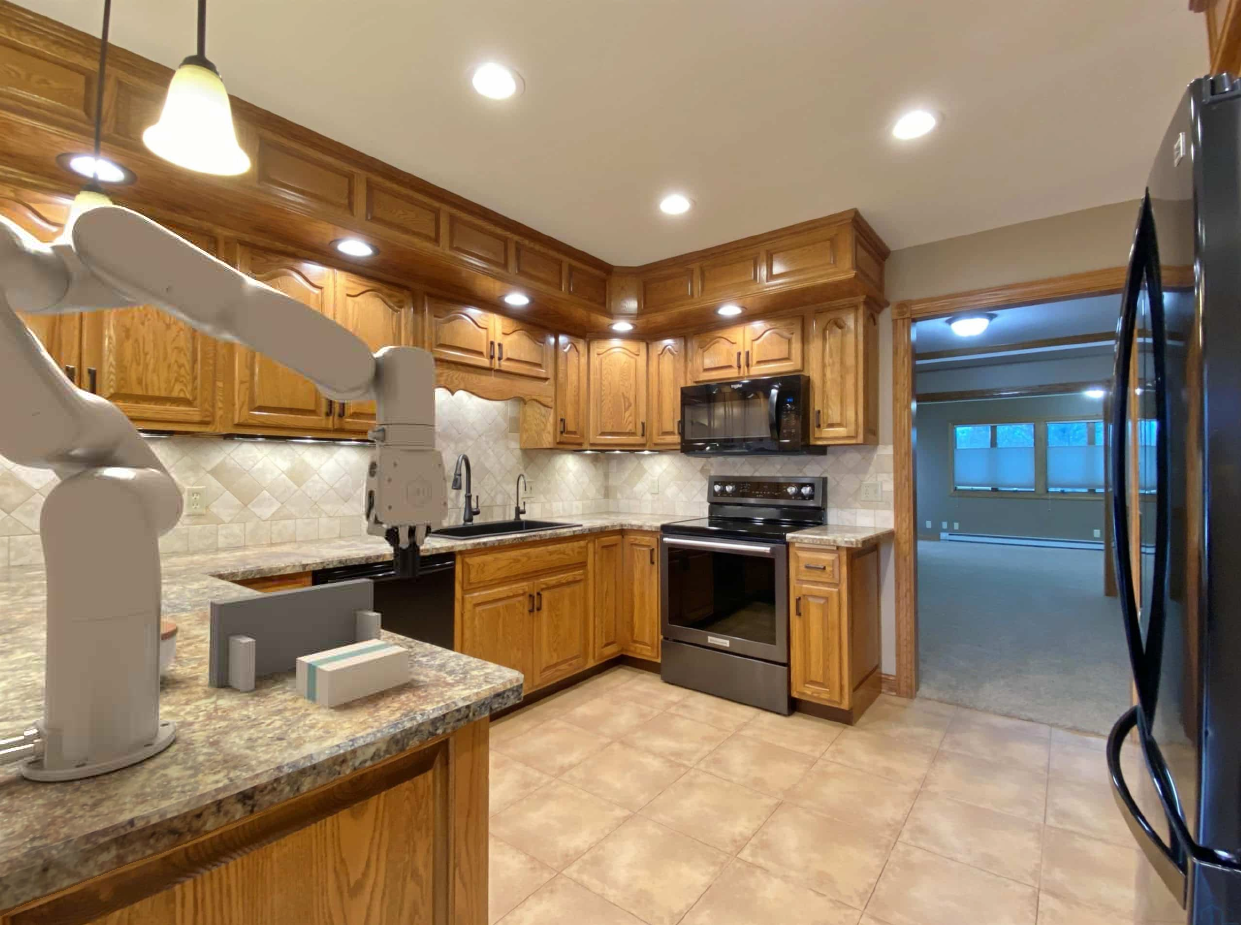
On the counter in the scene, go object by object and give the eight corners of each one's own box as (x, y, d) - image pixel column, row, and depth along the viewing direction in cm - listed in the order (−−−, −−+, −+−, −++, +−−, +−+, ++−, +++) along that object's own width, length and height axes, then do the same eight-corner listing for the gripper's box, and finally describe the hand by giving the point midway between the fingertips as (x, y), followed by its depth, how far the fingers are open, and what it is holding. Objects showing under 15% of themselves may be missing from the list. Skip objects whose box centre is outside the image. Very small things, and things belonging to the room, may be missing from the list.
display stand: (230, 695, 80) (232, 609, 80) (208, 682, 84) (210, 601, 85) (388, 652, 99) (389, 583, 99) (363, 644, 104) (364, 578, 104)
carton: (327, 709, 76) (328, 671, 76) (295, 693, 81) (296, 657, 81) (408, 683, 85) (409, 649, 86) (375, 670, 91) (375, 638, 91)
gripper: (368, 436, 69) (369, 589, 69) (468, 441, 81) (469, 570, 81) (336, 439, 73) (337, 582, 73) (436, 442, 85) (436, 566, 85)
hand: (406, 576), depth 77 cm, fingers closed
